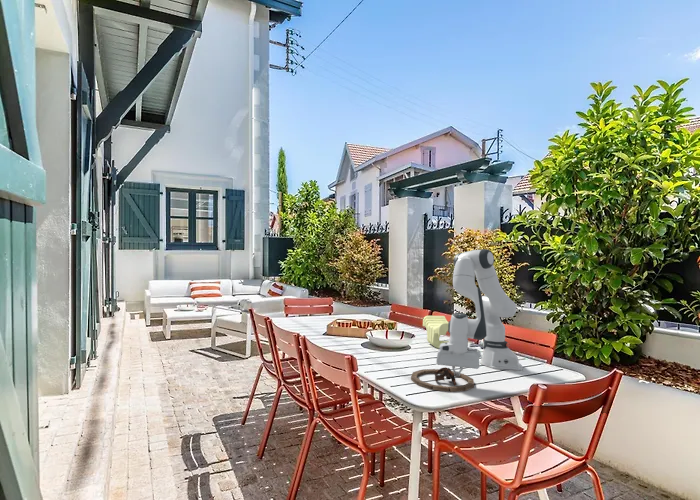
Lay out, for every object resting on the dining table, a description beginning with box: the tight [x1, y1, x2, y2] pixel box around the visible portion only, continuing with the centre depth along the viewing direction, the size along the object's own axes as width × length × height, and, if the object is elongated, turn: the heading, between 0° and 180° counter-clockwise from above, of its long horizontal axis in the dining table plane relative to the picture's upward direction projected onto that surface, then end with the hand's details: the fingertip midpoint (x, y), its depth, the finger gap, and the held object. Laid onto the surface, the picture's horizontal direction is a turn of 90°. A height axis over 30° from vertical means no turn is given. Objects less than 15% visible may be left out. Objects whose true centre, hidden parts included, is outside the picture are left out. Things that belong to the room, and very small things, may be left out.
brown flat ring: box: [410, 368, 475, 393], centre depth 203 cm, size 30×30×2 cm
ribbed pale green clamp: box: [422, 315, 449, 349], centre depth 280 cm, size 30×16×18 cm, turn 10°
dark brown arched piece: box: [433, 366, 457, 386], centre depth 202 cm, size 12×10×8 cm
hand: (457, 375), depth 201 cm, fingers closed
